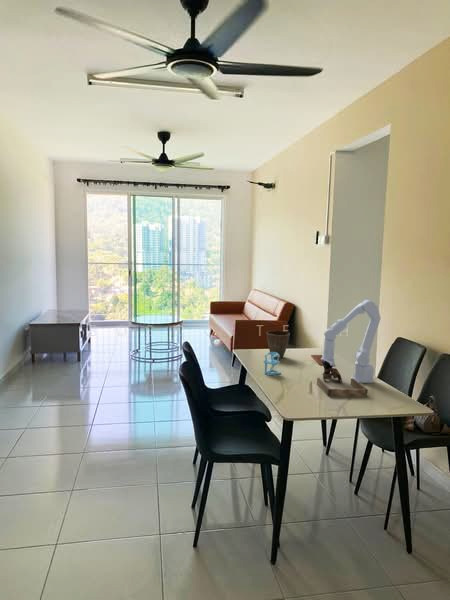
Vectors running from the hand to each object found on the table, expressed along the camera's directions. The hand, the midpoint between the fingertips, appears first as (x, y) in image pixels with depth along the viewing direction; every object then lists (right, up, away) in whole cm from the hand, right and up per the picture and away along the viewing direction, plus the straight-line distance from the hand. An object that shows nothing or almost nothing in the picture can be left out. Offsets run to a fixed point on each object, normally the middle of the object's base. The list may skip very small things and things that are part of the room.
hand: (327, 374), depth 223 cm
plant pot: (-23, +4, +39) cm, 45 cm away
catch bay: (+2, -4, -20) cm, 20 cm away
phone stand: (-30, 0, +3) cm, 31 cm away
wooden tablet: (+6, +2, +35) cm, 36 cm away
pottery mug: (+1, -3, -6) cm, 7 cm away
